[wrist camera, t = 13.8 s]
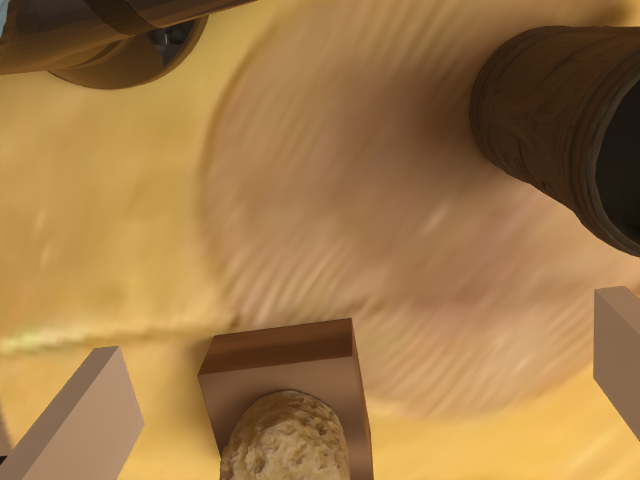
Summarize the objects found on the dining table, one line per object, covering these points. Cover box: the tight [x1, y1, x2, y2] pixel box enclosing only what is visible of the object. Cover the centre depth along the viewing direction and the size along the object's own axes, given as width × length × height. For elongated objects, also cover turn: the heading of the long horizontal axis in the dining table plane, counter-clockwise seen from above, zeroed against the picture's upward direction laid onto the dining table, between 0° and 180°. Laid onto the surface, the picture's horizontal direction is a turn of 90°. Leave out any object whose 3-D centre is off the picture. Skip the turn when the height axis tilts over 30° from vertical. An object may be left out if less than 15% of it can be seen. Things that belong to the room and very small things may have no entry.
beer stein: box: [470, 26, 640, 257], centre depth 31 cm, size 15×11×20 cm
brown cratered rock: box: [220, 390, 350, 480], centre depth 40 cm, size 9×9×8 cm
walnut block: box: [198, 318, 374, 480], centre depth 47 cm, size 12×12×6 cm
